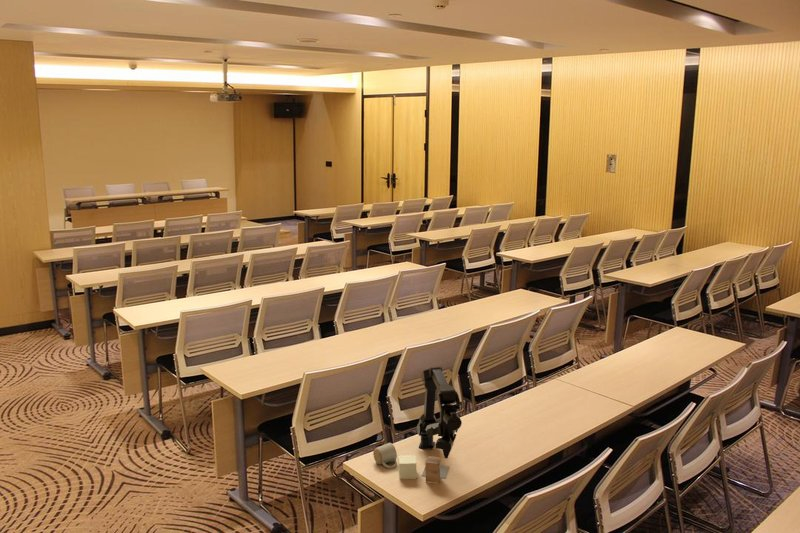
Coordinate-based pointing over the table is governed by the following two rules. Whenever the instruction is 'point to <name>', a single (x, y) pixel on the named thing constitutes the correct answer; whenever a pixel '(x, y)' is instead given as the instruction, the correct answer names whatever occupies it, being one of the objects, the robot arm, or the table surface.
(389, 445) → the ceramic mug
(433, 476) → the walnut block
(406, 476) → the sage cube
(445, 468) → the felt pad
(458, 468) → the table surface
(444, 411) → the robot arm
